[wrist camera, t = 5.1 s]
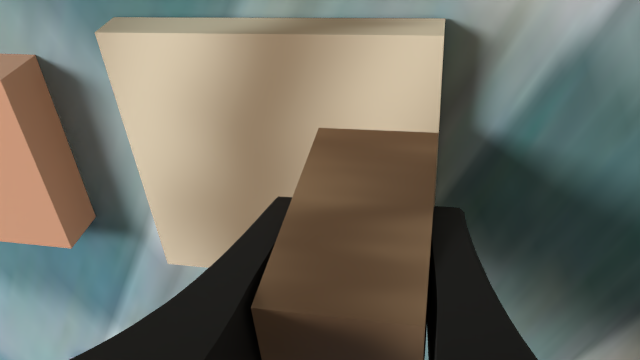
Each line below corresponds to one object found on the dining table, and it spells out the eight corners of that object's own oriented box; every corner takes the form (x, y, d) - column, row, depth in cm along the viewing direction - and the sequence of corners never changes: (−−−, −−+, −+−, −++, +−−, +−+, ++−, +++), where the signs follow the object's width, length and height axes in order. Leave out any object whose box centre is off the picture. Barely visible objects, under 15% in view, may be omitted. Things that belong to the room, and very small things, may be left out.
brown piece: (445, 18, 14) (431, 208, 8) (431, 265, 18) (416, 490, 13) (113, 17, 15) (-83, 174, 10) (179, 243, 20) (71, 433, 15)
